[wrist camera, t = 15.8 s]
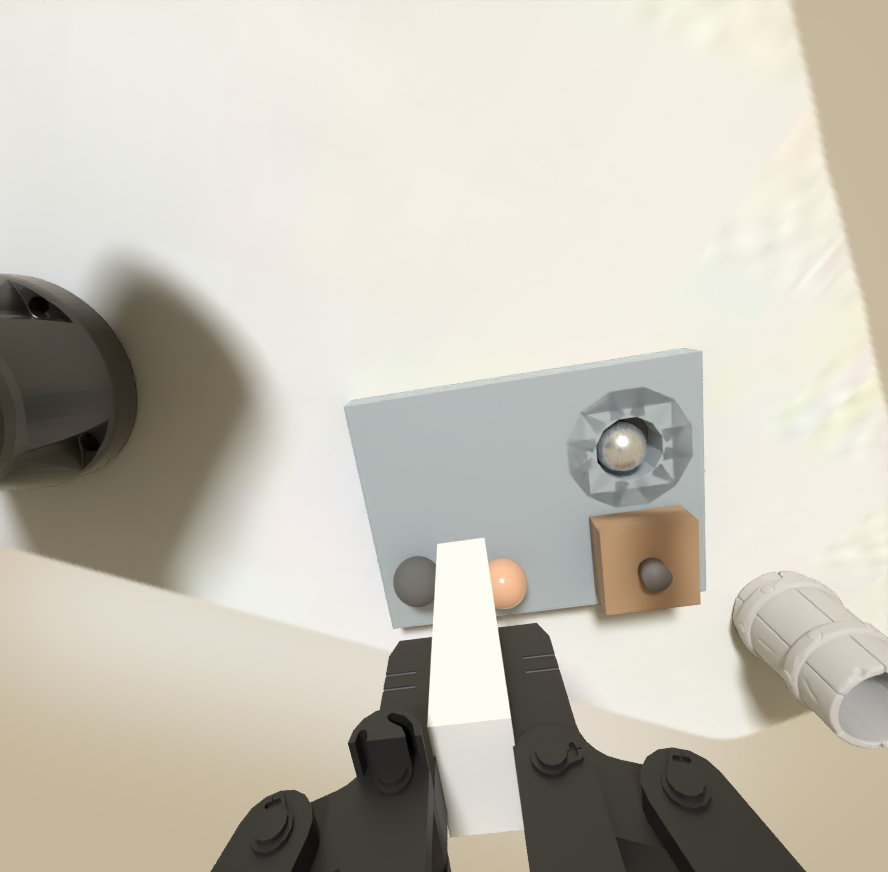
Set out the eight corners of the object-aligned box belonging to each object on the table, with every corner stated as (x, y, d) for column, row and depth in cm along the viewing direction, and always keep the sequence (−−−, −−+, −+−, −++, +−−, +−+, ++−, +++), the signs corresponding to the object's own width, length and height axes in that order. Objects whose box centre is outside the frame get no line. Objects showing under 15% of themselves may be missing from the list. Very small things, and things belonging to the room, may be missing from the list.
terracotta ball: (480, 592, 35) (483, 622, 32) (473, 551, 34) (475, 578, 31) (526, 586, 35) (533, 616, 31) (521, 545, 34) (528, 571, 30)
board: (397, 609, 38) (393, 628, 36) (351, 400, 34) (343, 406, 31) (689, 572, 37) (705, 591, 34) (683, 348, 32) (702, 351, 30)
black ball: (401, 591, 35) (395, 620, 32) (392, 550, 34) (385, 576, 31) (446, 585, 35) (445, 614, 31) (438, 544, 34) (436, 570, 31)
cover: (595, 594, 34) (611, 627, 31) (589, 516, 33) (605, 541, 29) (683, 583, 34) (709, 615, 30) (680, 504, 32) (708, 528, 29)
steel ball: (597, 468, 31) (653, 464, 30) (592, 418, 32) (646, 413, 31) (596, 476, 34) (647, 473, 33) (592, 430, 35) (641, 426, 34)
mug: (788, 548, 36) (946, 660, 24) (870, 640, 38) (1052, 785, 26) (708, 606, 38) (820, 738, 26) (791, 692, 40) (930, 850, 28)
